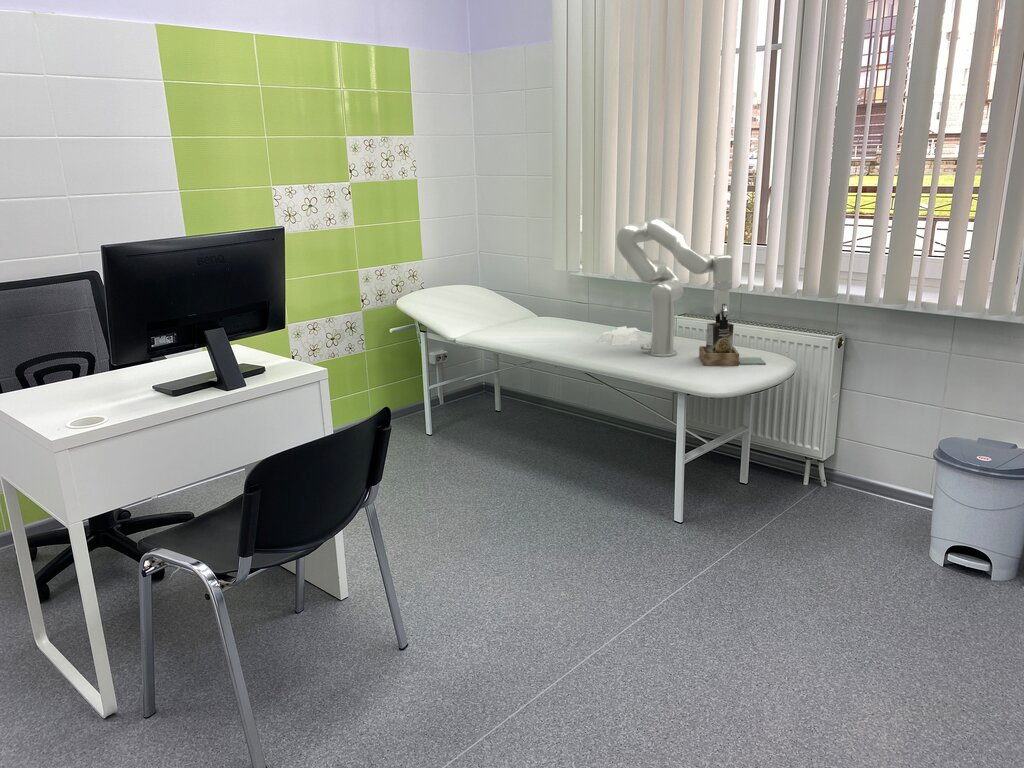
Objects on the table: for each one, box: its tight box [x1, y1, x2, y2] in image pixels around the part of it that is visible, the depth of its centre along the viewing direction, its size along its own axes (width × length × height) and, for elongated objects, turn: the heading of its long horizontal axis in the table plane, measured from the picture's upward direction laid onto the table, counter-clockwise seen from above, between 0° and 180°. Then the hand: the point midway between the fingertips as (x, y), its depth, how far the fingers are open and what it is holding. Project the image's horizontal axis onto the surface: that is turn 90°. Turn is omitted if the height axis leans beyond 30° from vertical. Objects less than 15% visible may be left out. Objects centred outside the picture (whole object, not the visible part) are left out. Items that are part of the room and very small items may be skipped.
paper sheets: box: [595, 325, 647, 346], centre depth 358 cm, size 35×20×6 cm, turn 143°
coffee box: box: [705, 322, 734, 353], centre depth 313 cm, size 9×6×16 cm
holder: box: [698, 345, 740, 367], centre depth 315 cm, size 14×14×5 cm
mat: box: [739, 356, 767, 366], centre depth 314 cm, size 10×10×1 cm
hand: (721, 327), depth 311 cm, fingers open, 9 cm apart
